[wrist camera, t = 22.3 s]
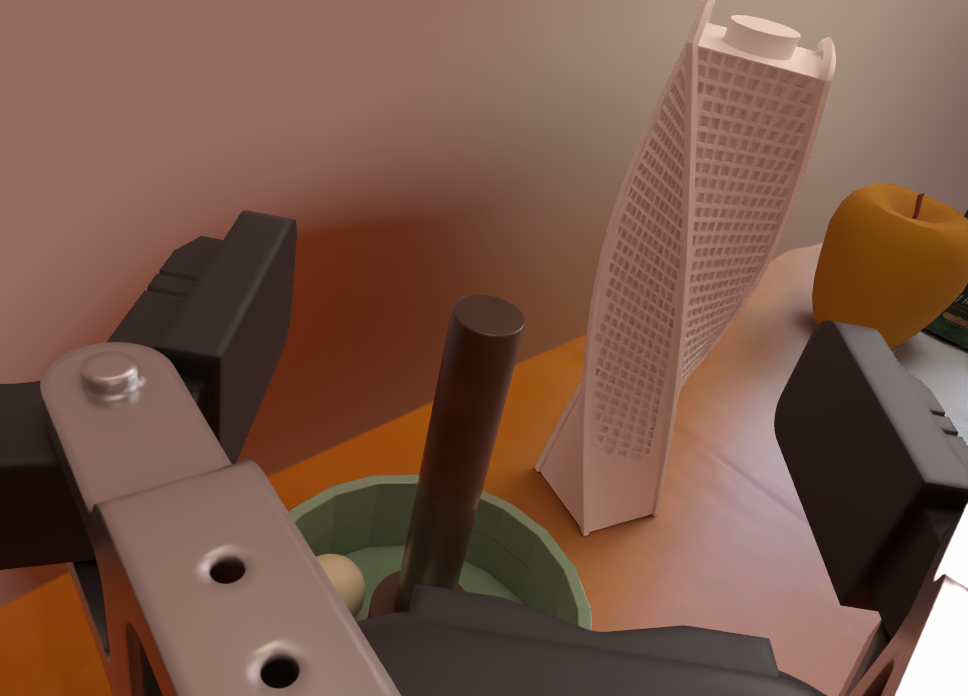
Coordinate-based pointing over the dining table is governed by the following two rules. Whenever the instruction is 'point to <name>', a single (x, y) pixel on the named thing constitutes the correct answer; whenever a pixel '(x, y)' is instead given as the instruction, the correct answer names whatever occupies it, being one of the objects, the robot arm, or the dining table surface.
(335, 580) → the bead
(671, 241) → the skyscraper
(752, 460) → the dining table surface
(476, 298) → the pestle
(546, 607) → the bowl
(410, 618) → the robot arm
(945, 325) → the coffee jar
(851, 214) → the apple
